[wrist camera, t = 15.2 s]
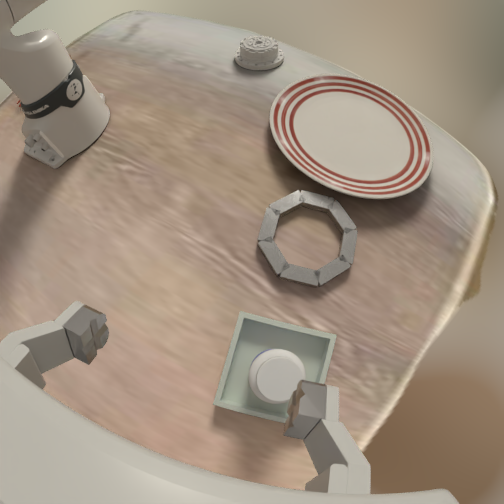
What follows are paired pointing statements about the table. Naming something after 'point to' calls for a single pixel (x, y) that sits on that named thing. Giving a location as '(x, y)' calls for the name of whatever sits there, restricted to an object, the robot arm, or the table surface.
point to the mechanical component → (259, 53)
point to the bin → (260, 339)
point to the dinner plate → (352, 136)
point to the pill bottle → (275, 375)
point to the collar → (297, 272)
